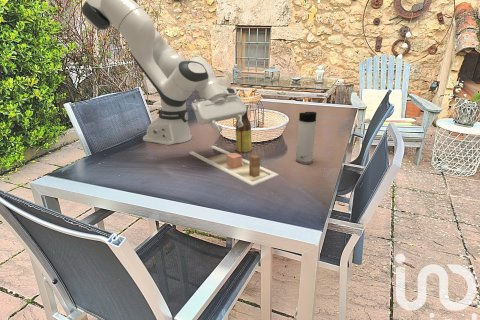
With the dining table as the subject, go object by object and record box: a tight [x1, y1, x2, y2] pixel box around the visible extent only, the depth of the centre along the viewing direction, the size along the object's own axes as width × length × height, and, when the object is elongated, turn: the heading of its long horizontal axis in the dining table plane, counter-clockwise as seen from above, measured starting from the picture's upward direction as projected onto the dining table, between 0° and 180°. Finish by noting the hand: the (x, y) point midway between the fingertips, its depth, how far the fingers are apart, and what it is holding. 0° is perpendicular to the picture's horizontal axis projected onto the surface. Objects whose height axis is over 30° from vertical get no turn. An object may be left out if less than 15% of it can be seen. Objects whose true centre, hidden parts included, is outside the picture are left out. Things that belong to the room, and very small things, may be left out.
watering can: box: [215, 74, 232, 88], centre depth 212 cm, size 16×27×19 cm, turn 156°
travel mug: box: [295, 111, 318, 165], centre depth 123 cm, size 6×7×20 cm
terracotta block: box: [225, 152, 243, 169], centre depth 118 cm, size 4×4×4 cm
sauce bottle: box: [235, 105, 253, 154], centre depth 131 cm, size 7×6×20 cm
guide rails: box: [188, 145, 280, 187], centre depth 121 cm, size 38×12×2 cm, turn 40°
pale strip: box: [206, 153, 269, 182], centre depth 117 cm, size 26×8×8 cm, turn 40°
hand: (230, 129), depth 115 cm, fingers open, 8 cm apart
